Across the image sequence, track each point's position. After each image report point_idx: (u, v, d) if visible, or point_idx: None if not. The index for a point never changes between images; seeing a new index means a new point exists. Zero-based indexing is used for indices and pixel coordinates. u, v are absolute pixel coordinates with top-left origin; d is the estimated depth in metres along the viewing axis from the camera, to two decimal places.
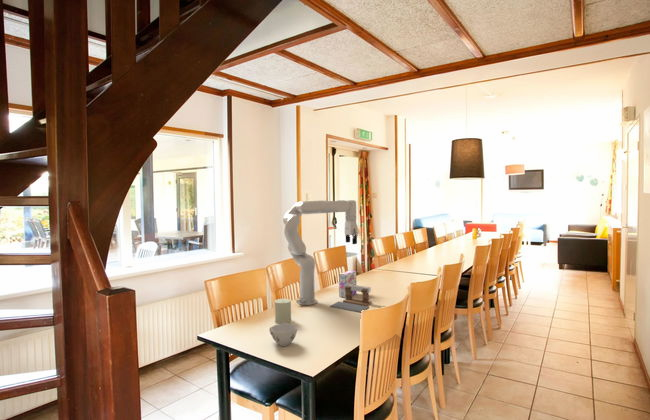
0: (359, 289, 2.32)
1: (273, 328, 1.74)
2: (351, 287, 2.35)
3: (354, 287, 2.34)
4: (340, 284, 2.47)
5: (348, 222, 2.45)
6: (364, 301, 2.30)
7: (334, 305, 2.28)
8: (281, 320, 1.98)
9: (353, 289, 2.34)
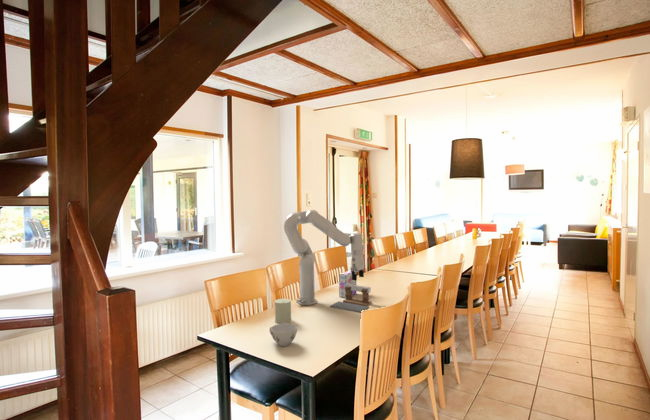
0: (359, 289, 2.32)
1: (273, 328, 1.74)
2: (351, 287, 2.35)
3: (354, 287, 2.34)
4: (340, 284, 2.47)
5: (361, 256, 2.33)
6: (364, 301, 2.30)
7: (334, 305, 2.28)
8: (281, 320, 1.98)
9: (353, 289, 2.34)
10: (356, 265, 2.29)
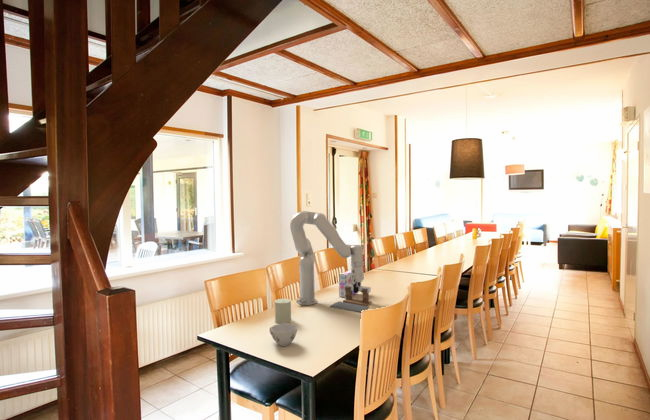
0: (359, 289, 2.32)
1: (273, 328, 1.74)
2: (351, 287, 2.35)
3: None
4: (340, 284, 2.47)
5: (361, 268, 2.34)
6: (364, 301, 2.30)
7: (334, 305, 2.28)
8: (281, 320, 1.98)
9: None
10: (356, 277, 2.29)
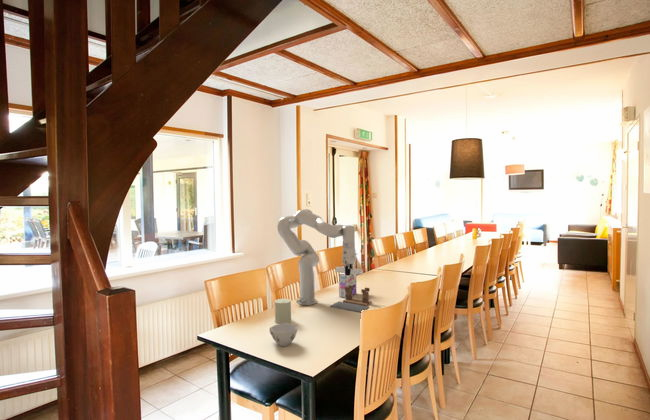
0: (351, 271, 2.22)
1: (273, 328, 1.74)
2: (343, 269, 2.25)
3: None
4: (340, 284, 2.47)
5: (353, 249, 2.24)
6: (364, 301, 2.30)
7: (334, 305, 2.28)
8: (281, 320, 1.98)
9: None
10: (347, 258, 2.19)
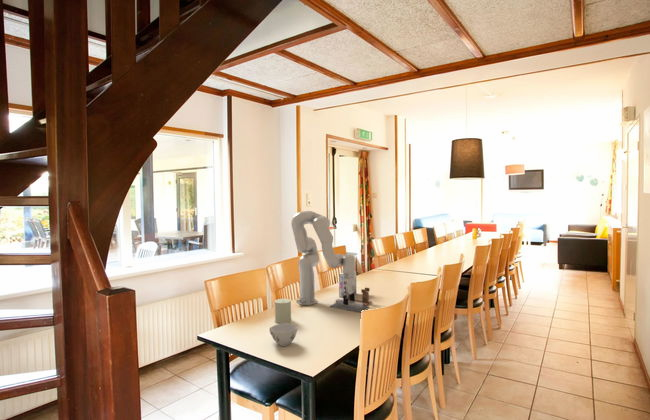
0: (351, 305, 2.23)
1: (273, 328, 1.74)
2: None
3: None
4: (340, 284, 2.47)
5: (353, 279, 2.25)
6: (364, 301, 2.30)
7: (334, 305, 2.28)
8: (281, 320, 1.98)
9: (345, 305, 2.25)
10: (347, 289, 2.20)
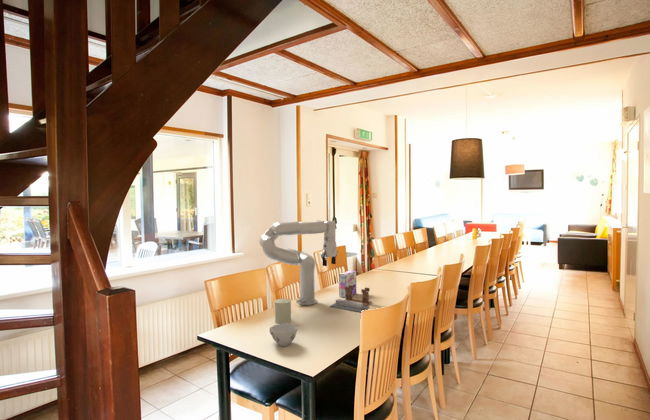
0: (351, 305, 2.23)
1: (273, 328, 1.74)
2: (343, 303, 2.26)
3: (346, 303, 2.25)
4: (340, 284, 2.47)
5: (334, 243, 2.39)
6: (364, 301, 2.30)
7: (334, 305, 2.28)
8: (281, 320, 1.98)
9: (345, 305, 2.25)
10: (327, 251, 2.35)
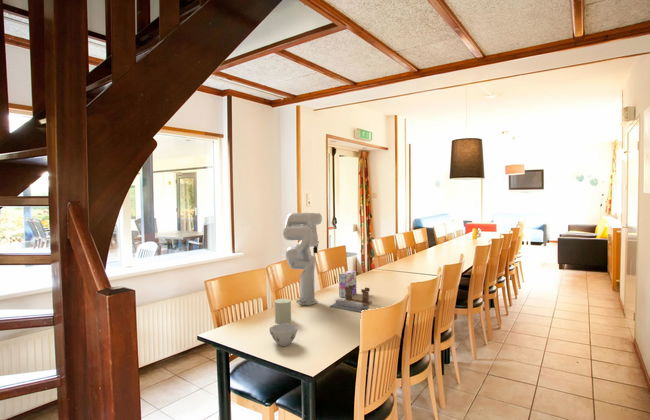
0: (351, 305, 2.23)
1: (273, 328, 1.74)
2: (343, 303, 2.26)
3: (346, 303, 2.25)
4: (340, 284, 2.47)
5: (315, 233, 2.57)
6: (364, 301, 2.30)
7: (334, 305, 2.28)
8: (281, 320, 1.98)
9: (345, 305, 2.25)
10: None
